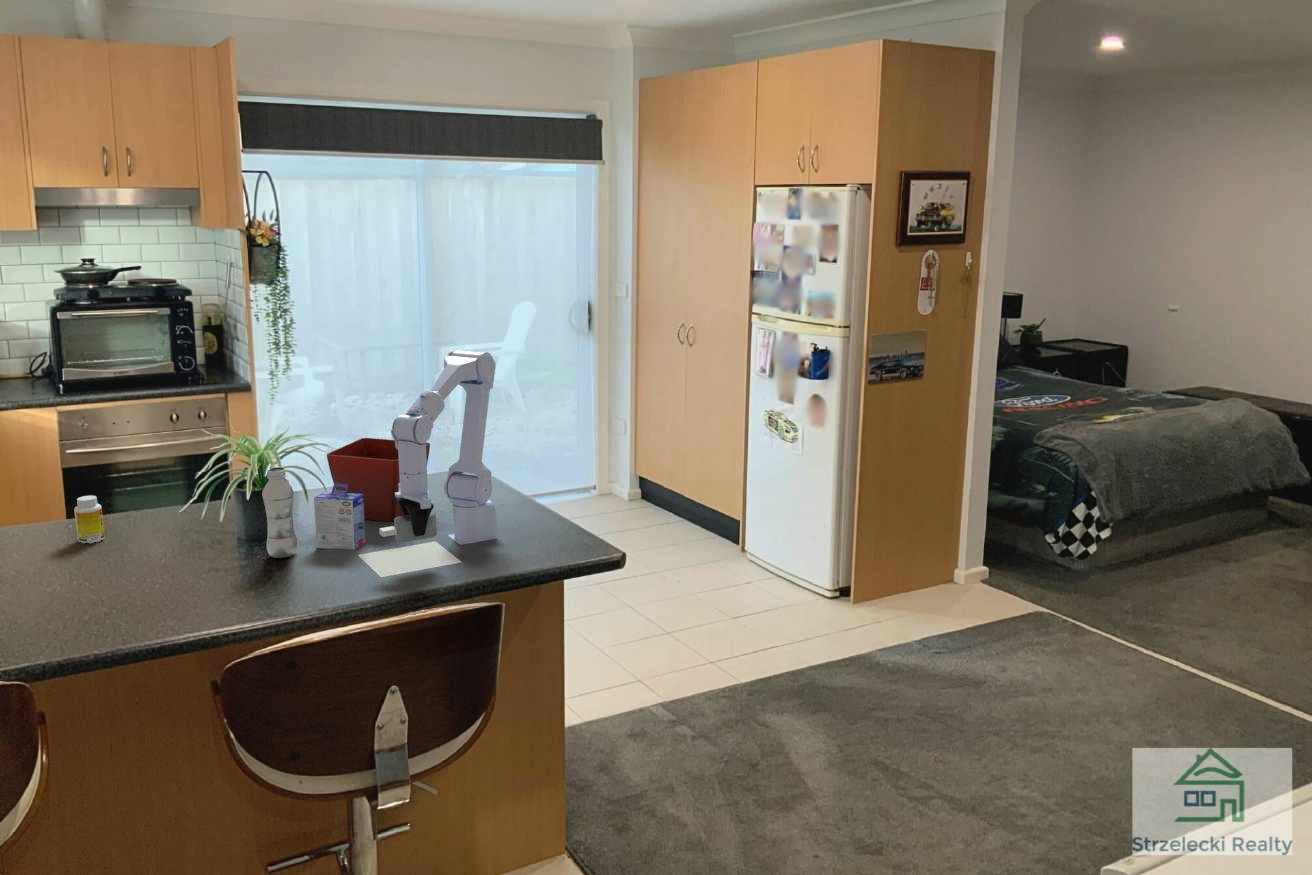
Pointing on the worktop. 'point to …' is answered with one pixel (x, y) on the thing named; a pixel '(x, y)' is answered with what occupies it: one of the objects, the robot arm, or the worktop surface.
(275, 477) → the plastic bottle
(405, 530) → the plug
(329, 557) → the worktop surface
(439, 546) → the mat
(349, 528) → the ink cartridge box
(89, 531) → the supplement bottle
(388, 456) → the plant pot
